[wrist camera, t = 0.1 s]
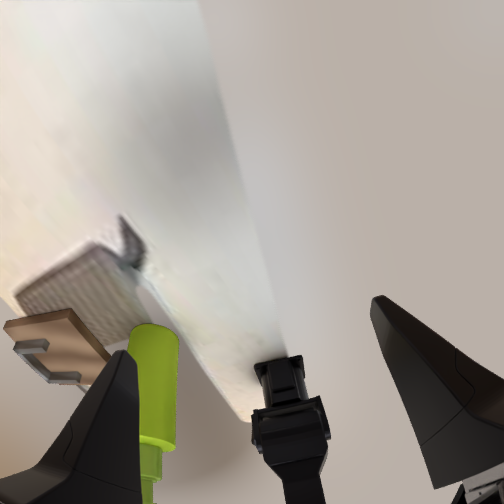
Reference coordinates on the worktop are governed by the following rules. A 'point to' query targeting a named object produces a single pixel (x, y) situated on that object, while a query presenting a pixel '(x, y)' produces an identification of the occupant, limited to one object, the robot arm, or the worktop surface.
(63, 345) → the dock
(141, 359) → the soap dispenser
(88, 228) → the worktop surface
